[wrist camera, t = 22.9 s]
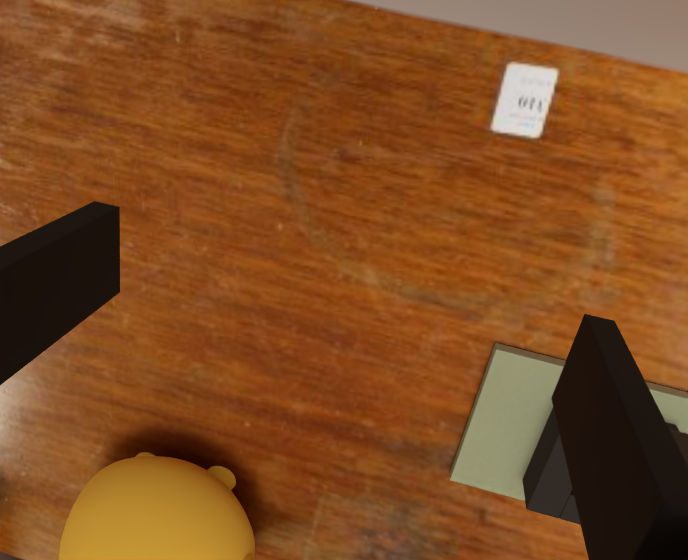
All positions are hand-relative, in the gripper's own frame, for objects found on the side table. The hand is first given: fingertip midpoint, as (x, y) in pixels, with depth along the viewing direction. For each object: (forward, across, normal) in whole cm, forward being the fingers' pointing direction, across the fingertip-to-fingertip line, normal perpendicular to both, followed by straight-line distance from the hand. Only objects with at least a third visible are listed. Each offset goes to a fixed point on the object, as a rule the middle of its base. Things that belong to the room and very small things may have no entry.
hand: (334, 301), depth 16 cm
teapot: (+22, -11, -34) cm, 42 cm away
